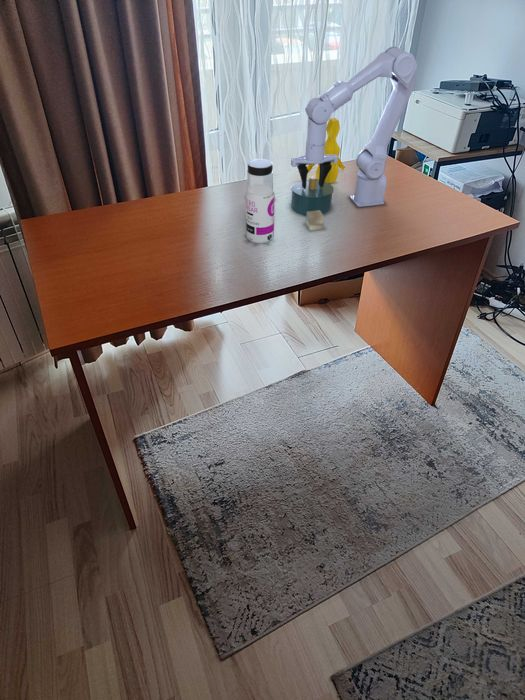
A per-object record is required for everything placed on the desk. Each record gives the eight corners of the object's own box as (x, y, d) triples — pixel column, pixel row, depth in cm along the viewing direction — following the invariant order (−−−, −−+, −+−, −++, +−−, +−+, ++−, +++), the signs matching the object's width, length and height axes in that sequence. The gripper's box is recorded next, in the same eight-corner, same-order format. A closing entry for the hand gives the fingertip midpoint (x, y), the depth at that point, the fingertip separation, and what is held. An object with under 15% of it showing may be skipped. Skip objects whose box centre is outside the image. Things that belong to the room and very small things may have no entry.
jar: (258, 206, 157) (258, 170, 149) (242, 198, 161) (241, 163, 153) (277, 198, 162) (278, 163, 153) (261, 191, 166) (261, 156, 158)
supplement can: (277, 233, 144) (278, 185, 133) (268, 246, 138) (269, 197, 128) (252, 229, 146) (251, 181, 135) (242, 242, 140) (241, 193, 130)
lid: (325, 181, 159) (326, 167, 156) (339, 198, 149) (340, 184, 146) (286, 184, 157) (286, 171, 154) (297, 202, 147) (298, 188, 144)
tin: (323, 196, 162) (324, 179, 158) (335, 213, 153) (337, 196, 149) (287, 200, 160) (287, 183, 156) (297, 217, 151) (298, 200, 147)
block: (318, 222, 149) (319, 210, 146) (322, 228, 146) (324, 216, 143) (305, 224, 148) (306, 211, 145) (309, 230, 145) (310, 217, 142)
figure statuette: (340, 174, 177) (348, 110, 162) (351, 182, 171) (360, 117, 157) (298, 181, 172) (301, 117, 157) (307, 190, 166) (312, 124, 151)
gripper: (333, 136, 147) (329, 179, 156) (289, 140, 144) (287, 183, 154) (341, 144, 142) (337, 188, 151) (295, 148, 139) (293, 192, 149)
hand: (312, 186), depth 152 cm, fingers open, 5 cm apart
